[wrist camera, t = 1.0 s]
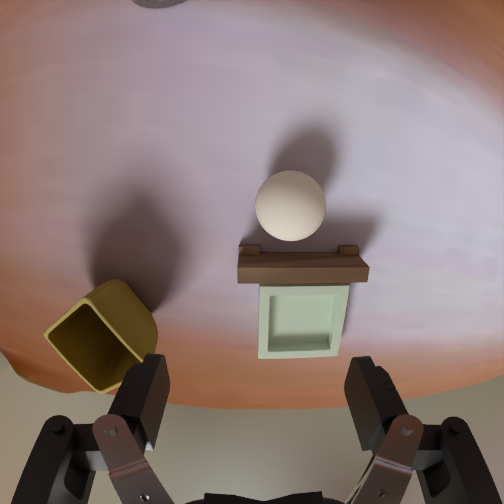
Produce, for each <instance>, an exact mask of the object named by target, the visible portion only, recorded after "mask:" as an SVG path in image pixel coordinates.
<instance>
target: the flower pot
mask: <svg viewBox="0 0 504 504" xmlns="http://www.w3.org/2000/svg"><path fill="white" fill-rule="evenodd" d="M44 336H45V338H46V339H47V340H48V342H49V343H50V344H51V345H52V347H53V348H54V349H55V350H56V351H57V352H58V353H59V355H60V356H61V357H62V358H63V359H64V360H65V361H66V362H67V363H68V364H69V365H70V366H71V367H72V368H73V369H74V370H75V372H76V373H77V374H78V375H79V376H80V377H81V378H82V379H83V380H84V381H85V382H86V383H87V384H88V385H90V386H91V387H92V388H93V389H94V390H95V391H96V392H98V393H99V394H103V393H106V392H108V391H110V390H112V389H114V388H116V387H118V386H120V385H121V383H122V381H123V378H124V376H125V374H126V372H127V370H128V369H129V368H130V367H132V366H133V365H134V364H135V363H137V364H142V362H143V360H144V357H145V355H146V354H147V353H151V354H155V349H156V345H157V340H158V331H157V326H156V323H155V321H154V318H153V316H152V314H151V313H150V311H149V310H148V309H147V308H146V307H145V306H144V304H143V303H142V302H141V301H140V300H139V298H138V297H137V296H136V295H135V294H134V292H133V291H132V290H131V289H130V287H129V286H128V285H127V284H126V283H125V282H124V281H122V280H119V279H112V280H108V281H106V282H104V283H103V284H101V285H100V286H98V287H97V288H96V289H94V290H93V291H91V292H90V293H89V294H87V295H86V296H85V297H83V298H82V299H81V300H80V301H79V302H77V303H76V304H75V305H74V306H73V307H72V308H71V309H70V310H68V311H67V312H66V313H65V314H64V315H63V316H62V317H60V318H59V319H58V320H57V321H56V322H55V323H54V324H52V325H51V326H50V327H49V328H48V329H47V330H46V331H45V332H44Z"/></svg>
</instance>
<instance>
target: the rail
mask: <svg viewBox="0 0 504 504" xmlns="http://www.w3.org/2000/svg"><path fill="white" fill-rule="evenodd" d="M369 268H370V267H369V266H368V265H367V264H366V263H365V262H364V261H363V259H362V258H361V257H360V256H359V247H358V246H354V245H339V248H338V252H260V245H239V258H238V267H237V277H238V283H354V282H367V280H368V274H369Z"/></svg>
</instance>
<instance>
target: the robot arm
mask: <svg viewBox="0 0 504 504" xmlns="http://www.w3.org/2000/svg"><path fill="white" fill-rule="evenodd" d="M132 1H133V2H134V3H136V4H138V5H139V6H142V7H146V8H165V7H169V6H174V5H176V4H179V3H182V2H184V1H186V0H132ZM169 390H170V379H169V374H168V369H167V364H166V359H165V356H164V355H161V354H151V353H147V354H146V355H145V357H144V360H143V362H142V364H137V363H135V364H134V365H133V366H132V367H130V368H129V369H128V370H127V372H126V374H125V376H124V378H123V381H122V383H121V385H120V388H119V389H118V392H117V394H116V396H115V398H114V401H113V403H112V405H111V407H110V410H109V412H108V414H107V415H103V416H101V417H99V418H98V419H97V420H96V421H95V422H94V423H93V424H73V423H72V421H71V420H70V419H69V418H67V417H66V416H62V415H57V416H53V417H51V418H49V419H48V420H47V421H46V422H45V424H44V425H43V427H42V429H41V432H40V434H39V436H38V438H37V440H36V442H35V445H34V447H33V449H32V451H31V454H30V456H29V458H28V461H27V463H26V466H25V468H24V470H23V473H22V475H21V478H20V480H19V483H18V486H17V488H16V491H15V494H14V496H13V499H12V502H11V504H87V503H88V499H89V495H90V492H91V488H92V484H93V480H94V477H95V473H96V471H106V470H107V471H108V470H109V477H110V479H111V482H112V484H113V486H114V488H115V490H116V492H117V494H118V496H119V498H120V500H121V502H122V504H174V502H173V501H172V499H171V498H170V496H169V495H168V493H167V492H166V490H165V489H164V487H163V486H162V484H161V483H160V481H159V480H158V478H157V476H156V475H155V473H154V472H153V470H152V468H151V467H150V465H149V463H148V462H147V460H146V459H145V457H144V452H145V450H151V451H153V450H154V447H155V442H156V439H157V435H158V431H159V428H160V424H161V420H162V417H163V413H164V409H165V406H166V402H167V398H168V395H169ZM344 392H345V396H346V399H347V402H348V405H349V409H350V412H351V415H352V418H353V421H354V424H355V428H356V431H357V434H358V438H359V440H360V444H361V448H362V451H366V450H372V453H373V455H372V457H371V459H370V461H369V463H368V464H367V466H366V468H365V470H364V472H363V474H362V475H361V477H360V479H359V481H358V482H357V484H356V486H355V487H354V489H353V491H352V492H351V494H350V495H349V497H348V498H347V500H346V501H345V502H344V503H343V502H340V501H338V500H334V499H331V498H324V497H323V496H322V491H319V492H309V493H298V494H291V495H288V496H284V497H280V498H277V499H272V500H268V501H259V500H254V499H249V498H245V497H241V496H236V495H227V494H211V493H205V494H204V499H200V500H196V501H191V502H188V503H185V504H400V503H401V500H402V498H403V496H404V493H405V491H406V489H407V486H408V484H409V481H410V479H411V476H412V473H413V470H416V473H417V476H418V479H419V482H420V486H421V489H422V493H423V496H424V500H425V503H426V504H502V501H501V499H500V496H499V493H498V491H497V488H496V486H495V483H494V481H493V479H492V476H491V474H490V472H489V469H488V467H487V465H486V462H485V460H484V458H483V456H482V453H481V451H480V449H479V447H478V445H477V443H476V441H475V439H474V437H473V435H472V433H471V431H470V429H469V427H468V425H467V423H466V422H465V421H464V420H463V419H461V418H458V417H449V418H446V419H445V420H444V421H443V422H442V424H441V425H426V424H422V422H421V421H420V420H419V419H418V418H416V417H415V416H412V415H409V414H408V412H407V410H406V408H405V406H404V404H403V402H402V400H401V398H400V396H399V394H398V392H397V390H396V388H395V386H394V384H393V383H392V380H391V378H390V376H389V374H388V372H386V371H385V370H384V369H383V368H382V367H381V366H376V367H375V365H374V363H373V361H372V359H371V357H370V356H362V357H353V358H352V360H351V363H350V366H349V369H348V373H347V376H346V379H345V384H344Z"/></svg>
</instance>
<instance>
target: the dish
mask: <svg viewBox="0 0 504 504" xmlns="http://www.w3.org/2000/svg"><path fill="white" fill-rule="evenodd" d="M349 288H350V285H349V284H348V283H259V313H258V359H278V358H308V357H327V356H337V354H338V349H339V344H340V339H341V334H342V329H343V324H344V318H345V312H346V306H347V300H348V294H349Z"/></svg>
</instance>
